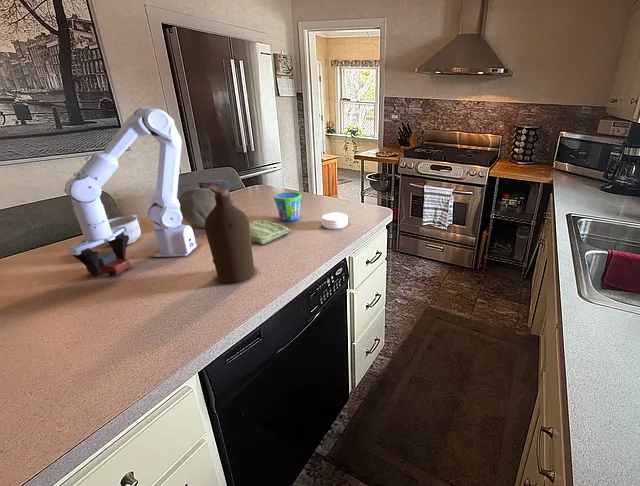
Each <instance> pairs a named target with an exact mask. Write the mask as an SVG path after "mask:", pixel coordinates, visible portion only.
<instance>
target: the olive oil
mask: <svg viewBox="0 0 640 486" xmlns="http://www.w3.org/2000/svg"><path fill="white" fill-rule="evenodd" d="M214 193H215V201H216V206H215V207H214V208H213V210H212V211H211V212H210V213H209V215H208V216H207V218H206V220H205V228H204V231H205V236H206V238H207V242H208V246H209V249H210V252H211V256H212V263H213V265H214V267H215V271H216V276H217V279H218V281H219V282H221V283H223V284H237V283H241V282H244V281H247V280H248V279H250V278H252V277H253V276H254V275H255V262H254V256H253V255H254V254H253V245H252V241H251V235H250V225H249V223H250V220H249V218H248V216H247V214H246V213H245V212H244V211H243V210H242V209H240V208H239V207H237V206H236V205H234V204H233V203H232V201H231V202H230V198H231V195H230V196H229V194H228V189H224V188H223V189H216V190H214Z"/></svg>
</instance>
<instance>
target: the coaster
mask: <svg viewBox="0 0 640 486" xmlns="http://www.w3.org/2000/svg"><path fill="white" fill-rule="evenodd" d="M321 219H322V220H321V223H322V224H321V225H322V227H324V228H325V229H330V230H332V229H334V230H338V229H342V228H345V227H346V226H348V225H349V224H348V223H349V219H348V215H347V214H346V213H345V212H329V213H326V214H324V215H322V216H321Z"/></svg>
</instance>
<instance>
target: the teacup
mask: <svg viewBox="0 0 640 486" xmlns="http://www.w3.org/2000/svg"><path fill="white" fill-rule="evenodd" d="M108 222H109V225H110V228H111V230H112V229H115V228H118V227H126V230H127V234H124V235H128V236H129V240H128V243H127V245H130V244H132V243H135V242H136V241H137V240H138V239H139V238H140V236H141V234H142V231H141V227H140V224H141V217H140V216H139V215H138V214H131V215H127V216H126V215H125V216H118V217H115V218H110V219H108ZM103 244H106V245H108V246H110V244H109V243H108V242H107V241H106V242H104V243H103Z"/></svg>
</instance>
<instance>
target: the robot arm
mask: <svg viewBox="0 0 640 486" xmlns="http://www.w3.org/2000/svg"><path fill="white" fill-rule="evenodd" d="M148 135H151V136H152V137H153V138H154V139H155V140H156V141H157V142H158V143H159V154H158V166H157V167H158V168H157V178H156V179H157V180H156V188H155V195H154V196H153V198H152V199H151V205H150V207H148V209H147V217H148V219H149V220H150V221H152V222H153V223H154V224H153V231H154V235H155V239H156V242H157V245H158V249H159V251H158V252H156V253H155V255H153V256H154V258H168V257H187V256H188V255H189V254H190V253H192V251H194V250H195V249H196V248H197V247H198V244H197V243H196V242H197V241H196V238H195V233H194V230H193V228H192V225H189V224H188V225H187V224H183V223H182V222H183V219H184V218H183V217H182V214H181V212H180V204H179V199H178V189H179V178H180V176H179V175H180V167H181V166H180V165H181V158H182V157H181V156H182V146H183V145H182V144H183V140H182V138H181V135H180V133H179V131H178V129H177V127H176V124H175V120H174V119H173V118H172V117H171V116H170V115H169V114H168V113H167V112H166V111H165V110H163V109H160V108H149V107H139V108H137V109H135V111H133V113H132V114H131V115H129V116H128V117H127V118H126V120H125V122H124V123H123V124H122V125H121V127H120V128H119V129H118V131H117V132H116V133H115V135H114V136H113V138H112V139H111V140H110V142H109V143H108V145H107V146H106V147H105V149H104V150H103V151H101V152H95V153H92V155H91V156H90V155H87V156H86V157H85V158H84V160H85V161H86V162H85V163H84V165H83V166H82V167H81V168H80V169H79V171H78V172H74V173H73V174H72V176H73V178H69V179H68V180H67V181H66V183H65V185H64V189H63V190H64V193H65V194H66V195H67V196H69V197H70V199H71V205H72V206H73V211H74V213H75V216H76V220H77V222H78V224H79V227H80V230H81V233H82V236H83V239H82V240H80V241H79V242H77V243H76V244H74V245H71V246H69V247H68V248H67V250H68V252H69V255H71V256H72V257H73V258H75V259H77V260H78V261H79V262H81V263H82V265H84V267H85V268H86V267H87V268H88V269H89V271H90V272H91V273H92V274H96V275H100V274H101V270H100V267H99V264H98V254H99V251H94V250H92V249H93V248H95V247H96V246H97V247H98V246H100V245H101V244H105V243H104V242H106V241H107V242H108V243H109V244H110V245H109V246H110V248H111V250H112V253H115V255H116V258H117V259H126V253H127V245H128V244H127V243H128V240H129V236H128V235H124V234H127V230H126V227H118V228H115V229H112V230H111V228H110V225H109V222H108V220H109V219H108V215H107V213H106V209H105V206H104V204H103V202H102V201H101V195H102V187H103V186H105V184H106V183H107V182H108V180H109V179H110V178H111V177H112V176H113V174H114V173H115V172H116V171H117V169H119V167H120V166H119V163H118V159H119V158H121V156H122V155H123V154H124V152H126V150H127V149H128V148H129V147H130V146H131V145H132V144H133V142H135V140H136V139H137V138H140V137H144V136H148ZM87 268H86V269H87ZM90 272H89V273H90Z"/></svg>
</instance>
